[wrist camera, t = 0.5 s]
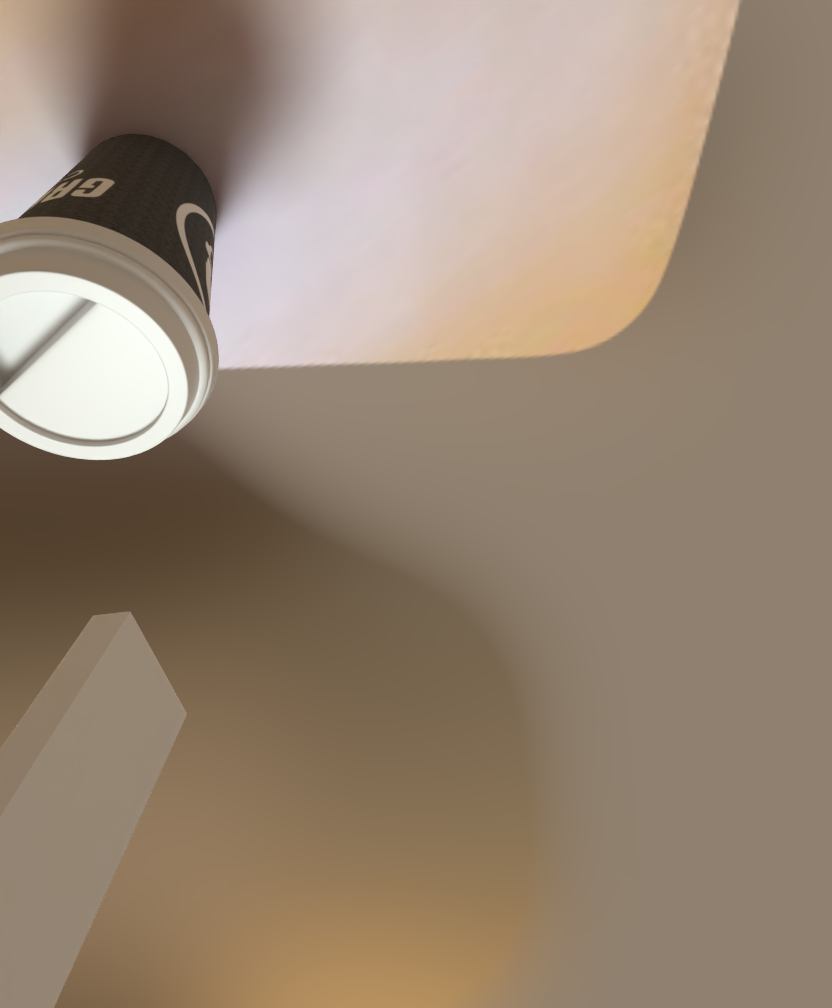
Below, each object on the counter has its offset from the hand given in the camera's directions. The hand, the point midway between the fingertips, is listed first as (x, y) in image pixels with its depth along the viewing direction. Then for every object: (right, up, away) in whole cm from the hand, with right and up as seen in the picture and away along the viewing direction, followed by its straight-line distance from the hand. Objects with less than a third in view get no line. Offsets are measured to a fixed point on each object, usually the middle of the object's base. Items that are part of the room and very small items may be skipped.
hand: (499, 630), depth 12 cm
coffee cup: (-15, +17, +24) cm, 33 cm away
